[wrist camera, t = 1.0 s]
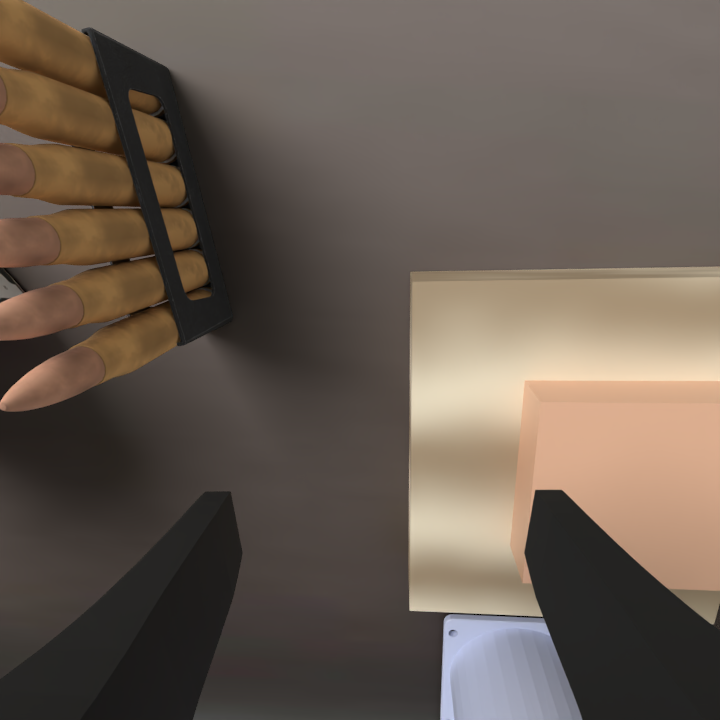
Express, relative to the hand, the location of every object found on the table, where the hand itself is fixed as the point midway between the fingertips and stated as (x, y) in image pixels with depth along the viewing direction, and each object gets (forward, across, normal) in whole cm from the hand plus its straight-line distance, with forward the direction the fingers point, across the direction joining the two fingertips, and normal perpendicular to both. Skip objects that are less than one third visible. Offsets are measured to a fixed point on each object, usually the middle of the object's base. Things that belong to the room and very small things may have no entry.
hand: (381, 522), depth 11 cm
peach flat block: (+7, -10, +4) cm, 13 cm away
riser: (+10, -8, +5) cm, 14 cm away
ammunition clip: (+13, +8, -6) cm, 17 cm away
